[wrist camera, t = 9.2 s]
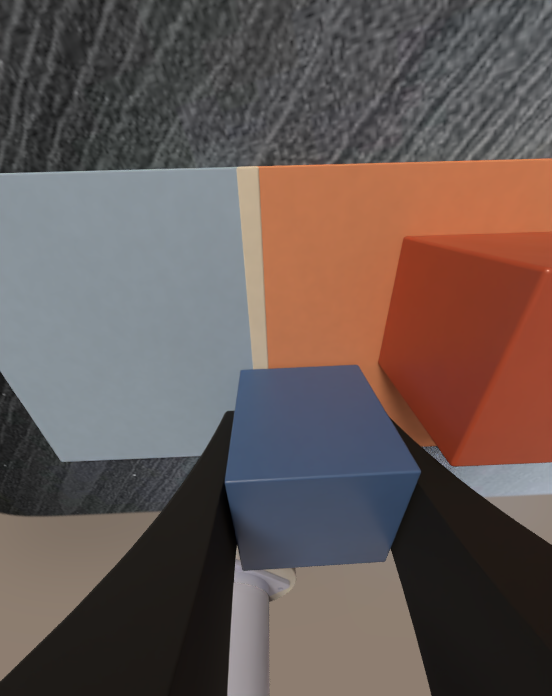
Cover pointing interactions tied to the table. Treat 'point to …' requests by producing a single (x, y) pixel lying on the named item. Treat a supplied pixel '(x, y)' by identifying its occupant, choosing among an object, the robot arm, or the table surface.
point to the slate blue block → (314, 469)
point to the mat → (218, 285)
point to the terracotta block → (475, 344)
